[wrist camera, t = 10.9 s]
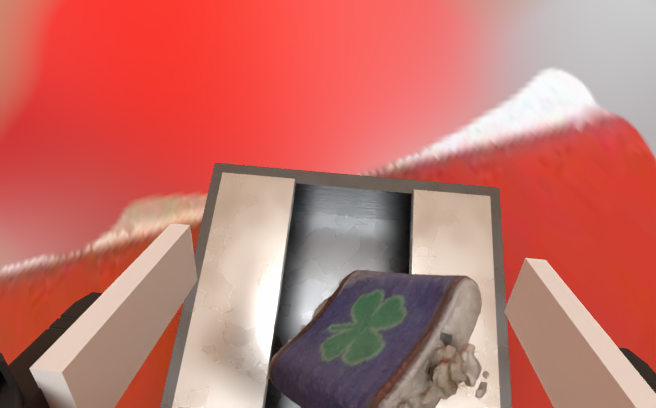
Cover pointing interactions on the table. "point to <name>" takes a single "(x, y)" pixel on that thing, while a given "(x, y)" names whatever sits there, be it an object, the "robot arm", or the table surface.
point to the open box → (324, 273)
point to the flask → (384, 344)
